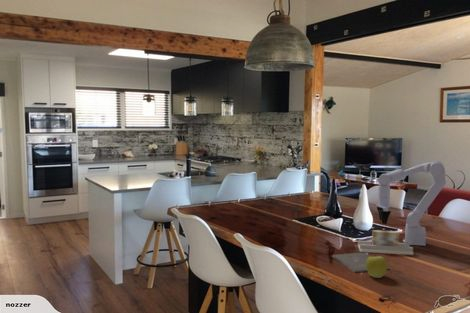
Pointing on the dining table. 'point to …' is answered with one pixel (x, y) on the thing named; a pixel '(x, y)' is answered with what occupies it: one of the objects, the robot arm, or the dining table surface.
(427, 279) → the dining table surface
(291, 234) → the dining table surface
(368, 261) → the apple
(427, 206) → the robot arm
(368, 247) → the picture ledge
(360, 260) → the play button award
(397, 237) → the oak frame
